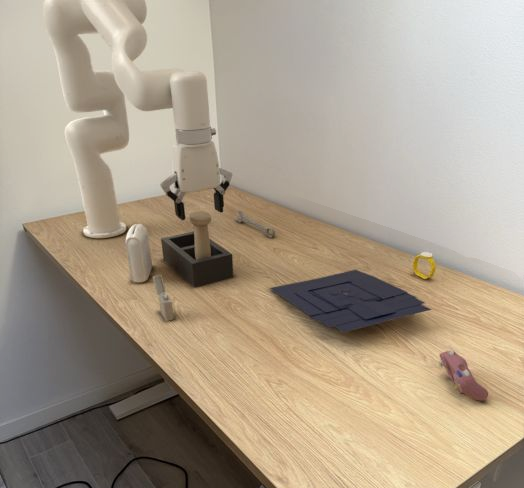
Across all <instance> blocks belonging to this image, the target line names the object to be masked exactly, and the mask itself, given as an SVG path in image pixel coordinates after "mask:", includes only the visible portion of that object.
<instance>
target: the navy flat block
mask: <svg viewBox="0 0 524 488" xmlns="http://www.w3.org/2000/svg"><path fill="white" fill-rule="evenodd" d="M269 289H270V290H271V291H272V292H274V293H275V294H276V295H278V296H280V297H281V298H283V299H285V300H286V301H288V302H289V303H290V304H291V305H293V306H295V307H296V308H298V309H299V310H300V311H302V312H304V314H306V315H308V317H310V318H311V319H313V320H314V321H316V322H317V323H322V324H323V325H325V326H326V327H328V328H329V329H330V328H333V327H334V328H336V329H337V330H339V331H341V332H342V333H348V332H351V331H355V330H358V329H362V328H366V327H370V326H374V325H377V324H381V323H385V322H389V321H392V320H396V319H400V318H404V317H405V318H406V317H408V316H412V315H413V316H414V315H418V314H420V313H425V312H428V311H432V309H431V308H429V307H428V306H425V305H424V304H426V302H425V301H422V300H421V299H419V298H418V297H417V296H415V295H412V294H411V293H409V292H408V291H406V290H404V289H402V288H400V287H398V286H396V285H393V284H391V283H389V282H387V281H384V280H382V279H380V278H378V277H376V276H374V275H370V274H368V273H366V272H362V271H360V270H358V269H352V270H348V271H344V272H339V273H335V274H331V275H327V276H322V277H319V278H314V279H309V280H304V281H299V282H293V283H288V284H284V285H283V284H282V285H278V286H273V287H269Z"/></svg>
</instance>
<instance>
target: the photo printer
mask: <svg viewBox="0 0 524 488" xmlns="http://www.w3.org/2000/svg"><path fill="white" fill-rule="evenodd" d="M125 249H126V255H127V261H128V267H129V273H130V278H131V281H132V282H134V283H137V284H138V283H144V282H146V281H148V279H149V277H150V275H151V273H152V269H153V261H152V256H151V255H152V254H151V248H150V242H149V233H148V230H147V227H146V226H145V225H143V224H142V223H135V224H133V225H131V227H129V229H128V231H127V233H126V237H125Z"/></svg>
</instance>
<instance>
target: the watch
mask: <svg viewBox="0 0 524 488" xmlns="http://www.w3.org/2000/svg"><path fill="white" fill-rule="evenodd" d="M433 256H434V255H433V254H432V252H428V251H422V252H421V253H420V254H418V255H416V256H415V257H414V259H413V262H412V271H413V272H414V275H415V276H417V277H419V278H421V279H423V280H428V279H430V278H432V277H433V276H434V275H435V273H436V269H437V265H436V262H435V260H434V258H433ZM420 258H421V259H423V260H427V261H428V262H429V263H430V273H429V274H428V276H427V275H425V274H424V273H422V272H420V270H419V266H418V262H419V260H420Z"/></svg>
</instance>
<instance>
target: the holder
mask: <svg viewBox="0 0 524 488" xmlns="http://www.w3.org/2000/svg"><path fill="white" fill-rule="evenodd" d="M209 241H210V248H211V257H207V258H202V259H198V260H196V257H195V237H194V230H193V231H188V232H184V233H180V234H175V235H170V236H166V237H161V238H160V244H161V250H162V258H163V261H164V262H165V263H167V265H169V266H170V267H171V268H172V269H173V270H175V271H176V272H177V273H178V274H179V275H180V276H181V277H182V278H184V279H185V280H186V281H187V282H188V283H189V284H191V286H193V288H196V287H200V286H204V285H207V284H208V285H209V284H212V283H215V282H219V281H223V280H226V279H227V280H228V279H231V278H234V264H233V253H232V252H230V251H228V250H227V249H226V248H224V247H223V246H221V245H220V244H218V243H217V242H215V241H214V240H212V239H211V238H209Z"/></svg>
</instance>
